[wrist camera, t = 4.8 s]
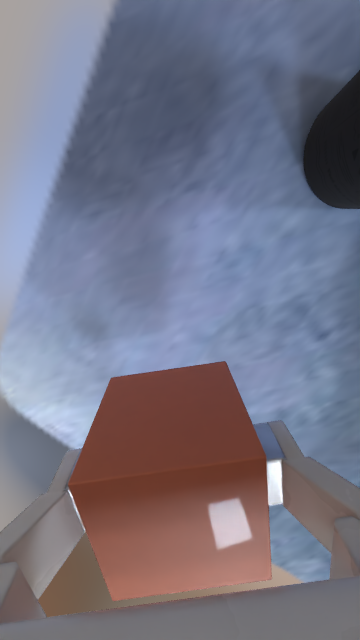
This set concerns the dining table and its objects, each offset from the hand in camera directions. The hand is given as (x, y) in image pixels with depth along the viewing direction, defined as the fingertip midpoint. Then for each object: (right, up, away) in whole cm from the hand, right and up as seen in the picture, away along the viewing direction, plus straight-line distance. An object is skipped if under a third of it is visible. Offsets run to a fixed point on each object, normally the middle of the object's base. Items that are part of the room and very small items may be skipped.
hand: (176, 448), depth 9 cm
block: (0, +1, +2) cm, 2 cm away
